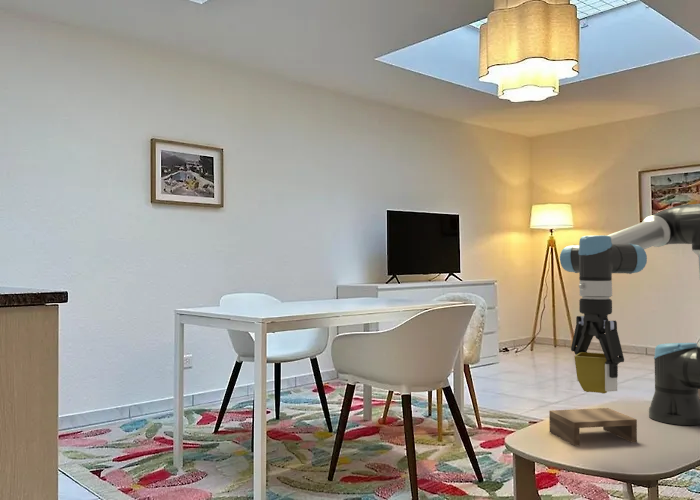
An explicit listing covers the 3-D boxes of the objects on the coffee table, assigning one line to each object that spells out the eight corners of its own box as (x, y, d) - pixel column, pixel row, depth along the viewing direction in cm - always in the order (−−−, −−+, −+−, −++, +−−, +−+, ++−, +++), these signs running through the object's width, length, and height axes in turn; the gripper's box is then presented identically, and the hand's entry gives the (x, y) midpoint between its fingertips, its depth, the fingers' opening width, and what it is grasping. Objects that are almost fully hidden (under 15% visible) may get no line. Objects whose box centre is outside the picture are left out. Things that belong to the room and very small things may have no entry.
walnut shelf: (608, 429, 176) (607, 408, 176) (636, 442, 163) (636, 419, 163) (549, 432, 173) (549, 410, 173) (574, 445, 160) (574, 422, 160)
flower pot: (581, 386, 158) (580, 351, 158) (618, 390, 154) (617, 353, 154) (574, 392, 150) (573, 355, 151) (612, 396, 146) (612, 358, 146)
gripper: (556, 295, 164) (557, 377, 163) (610, 301, 140) (611, 397, 140) (582, 295, 165) (583, 376, 165) (640, 300, 141) (641, 395, 141)
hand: (596, 385), depth 152 cm, fingers closed on flower pot, 12 cm apart
